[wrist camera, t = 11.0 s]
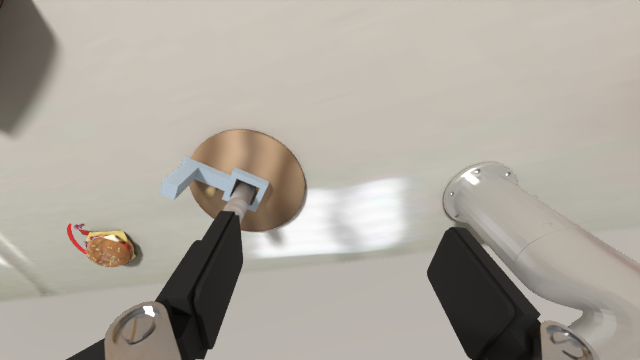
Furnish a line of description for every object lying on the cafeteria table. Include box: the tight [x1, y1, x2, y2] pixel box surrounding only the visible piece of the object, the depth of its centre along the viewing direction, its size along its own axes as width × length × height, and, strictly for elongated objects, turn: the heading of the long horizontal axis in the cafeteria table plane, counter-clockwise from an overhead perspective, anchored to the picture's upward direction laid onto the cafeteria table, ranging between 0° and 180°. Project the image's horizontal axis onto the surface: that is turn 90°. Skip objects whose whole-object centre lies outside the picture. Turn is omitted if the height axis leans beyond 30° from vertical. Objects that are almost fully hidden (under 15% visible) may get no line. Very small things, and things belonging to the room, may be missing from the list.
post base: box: [189, 129, 305, 231], centre depth 36 cm, size 20×20×12 cm
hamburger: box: [67, 223, 136, 267], centre depth 45 cm, size 14×14×6 cm
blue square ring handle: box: [160, 157, 269, 212], centre depth 36 cm, size 14×6×8 cm, turn 62°
